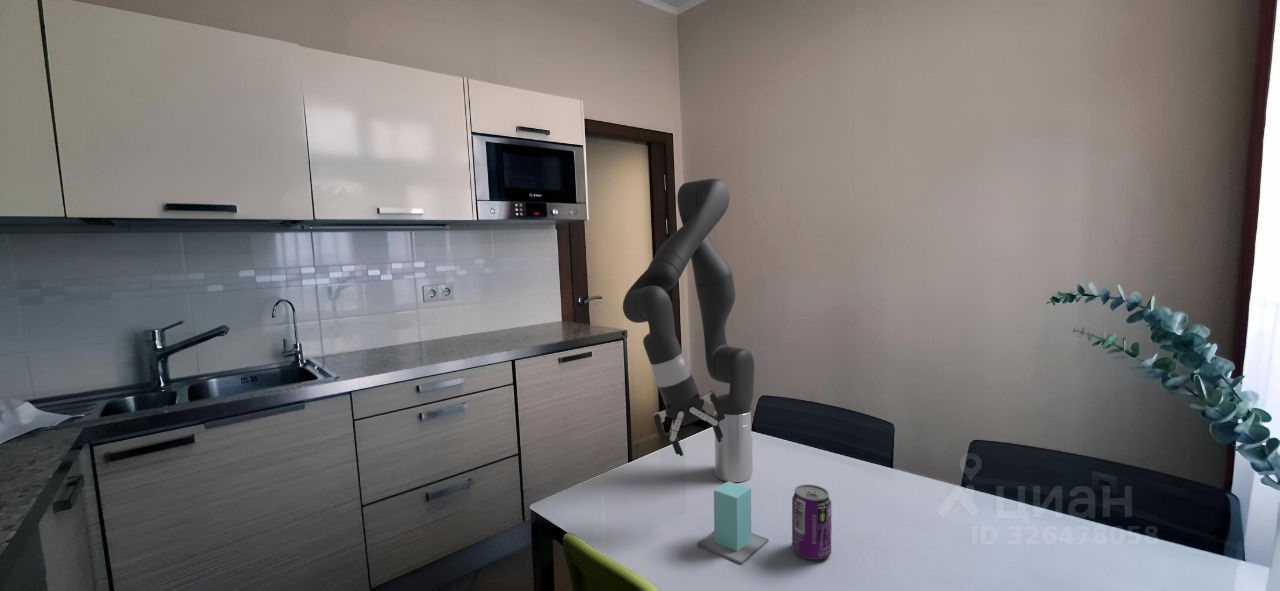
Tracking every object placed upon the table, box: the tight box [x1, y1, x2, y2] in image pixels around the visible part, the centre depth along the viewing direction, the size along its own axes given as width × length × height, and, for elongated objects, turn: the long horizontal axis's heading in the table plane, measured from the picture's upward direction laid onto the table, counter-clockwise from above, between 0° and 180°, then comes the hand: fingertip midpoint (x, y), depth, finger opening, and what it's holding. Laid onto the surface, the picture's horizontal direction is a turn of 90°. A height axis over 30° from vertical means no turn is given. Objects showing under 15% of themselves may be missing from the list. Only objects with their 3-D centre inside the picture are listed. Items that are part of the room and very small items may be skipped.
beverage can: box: [791, 484, 832, 561], centre depth 100 cm, size 7×7×12 cm
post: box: [697, 531, 769, 565], centre depth 103 cm, size 10×10×10 cm
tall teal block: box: [713, 481, 752, 552], centre depth 103 cm, size 5×5×11 cm
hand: (700, 447), depth 111 cm, fingers open, 8 cm apart
